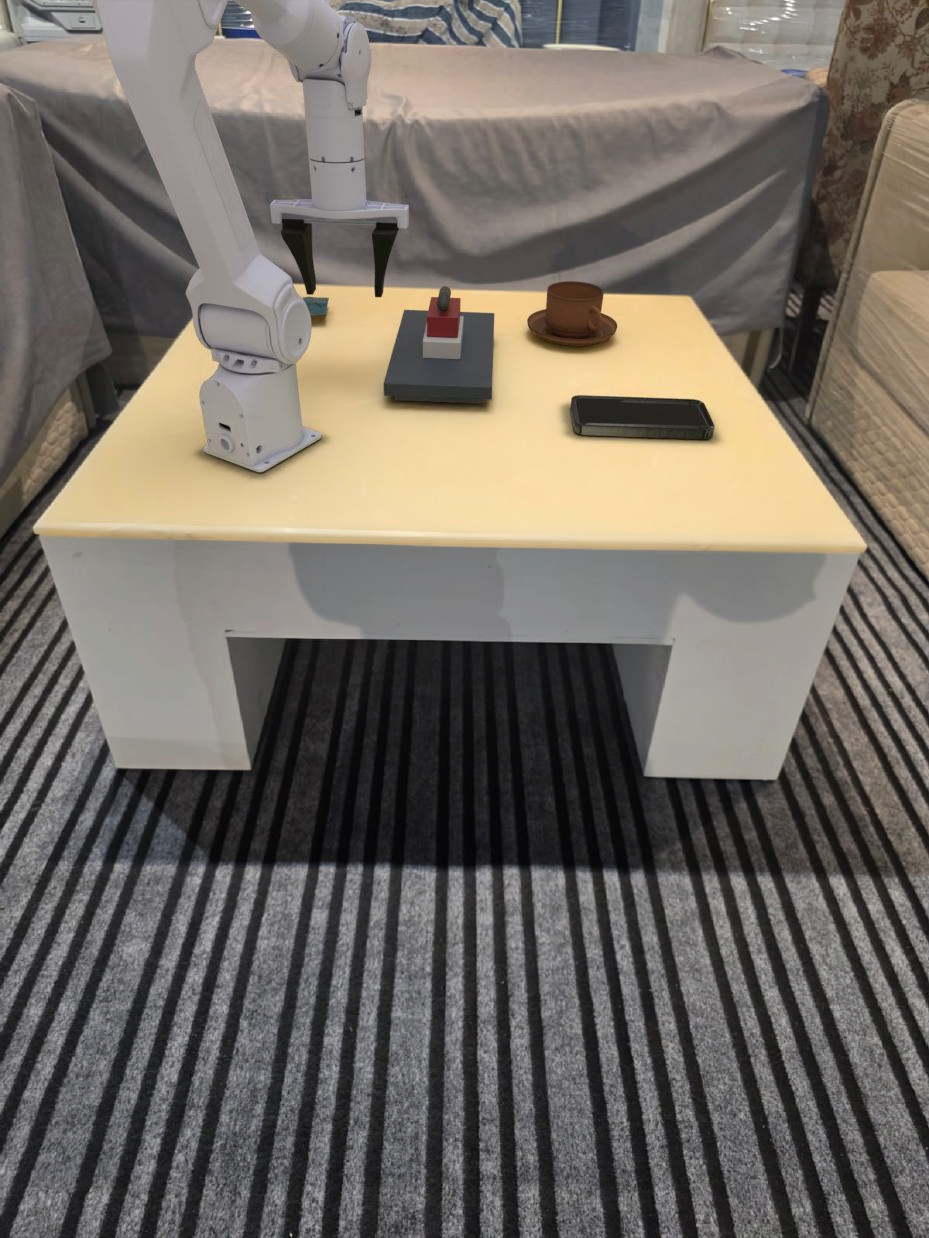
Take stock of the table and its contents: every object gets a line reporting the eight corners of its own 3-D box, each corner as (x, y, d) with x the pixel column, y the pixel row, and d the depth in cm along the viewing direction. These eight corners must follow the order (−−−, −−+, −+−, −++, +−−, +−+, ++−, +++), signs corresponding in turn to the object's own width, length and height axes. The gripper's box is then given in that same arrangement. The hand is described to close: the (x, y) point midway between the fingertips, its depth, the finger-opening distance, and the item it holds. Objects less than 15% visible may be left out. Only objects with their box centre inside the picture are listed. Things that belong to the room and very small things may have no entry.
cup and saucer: (632, 336, 113) (639, 290, 109) (581, 361, 106) (587, 312, 102) (561, 315, 119) (565, 270, 115) (508, 337, 112) (510, 289, 108)
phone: (716, 430, 89) (575, 425, 89) (714, 440, 90) (574, 434, 90) (702, 399, 95) (570, 394, 95) (700, 408, 96) (569, 403, 96)
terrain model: (232, 327, 112) (230, 312, 111) (238, 310, 118) (236, 296, 117) (329, 325, 113) (328, 311, 112) (329, 309, 120) (328, 295, 118)
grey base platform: (490, 412, 94) (492, 387, 92) (384, 408, 94) (383, 383, 92) (493, 335, 112) (494, 312, 111) (404, 332, 113) (404, 309, 111)
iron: (460, 359, 98) (461, 306, 94) (422, 358, 98) (422, 304, 94) (463, 332, 105) (464, 281, 101) (428, 330, 105) (428, 279, 101)
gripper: (410, 153, 89) (412, 284, 97) (275, 148, 89) (288, 279, 98) (404, 166, 83) (406, 304, 92) (259, 161, 84) (275, 299, 92)
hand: (345, 293), depth 94 cm, fingers open, 7 cm apart
